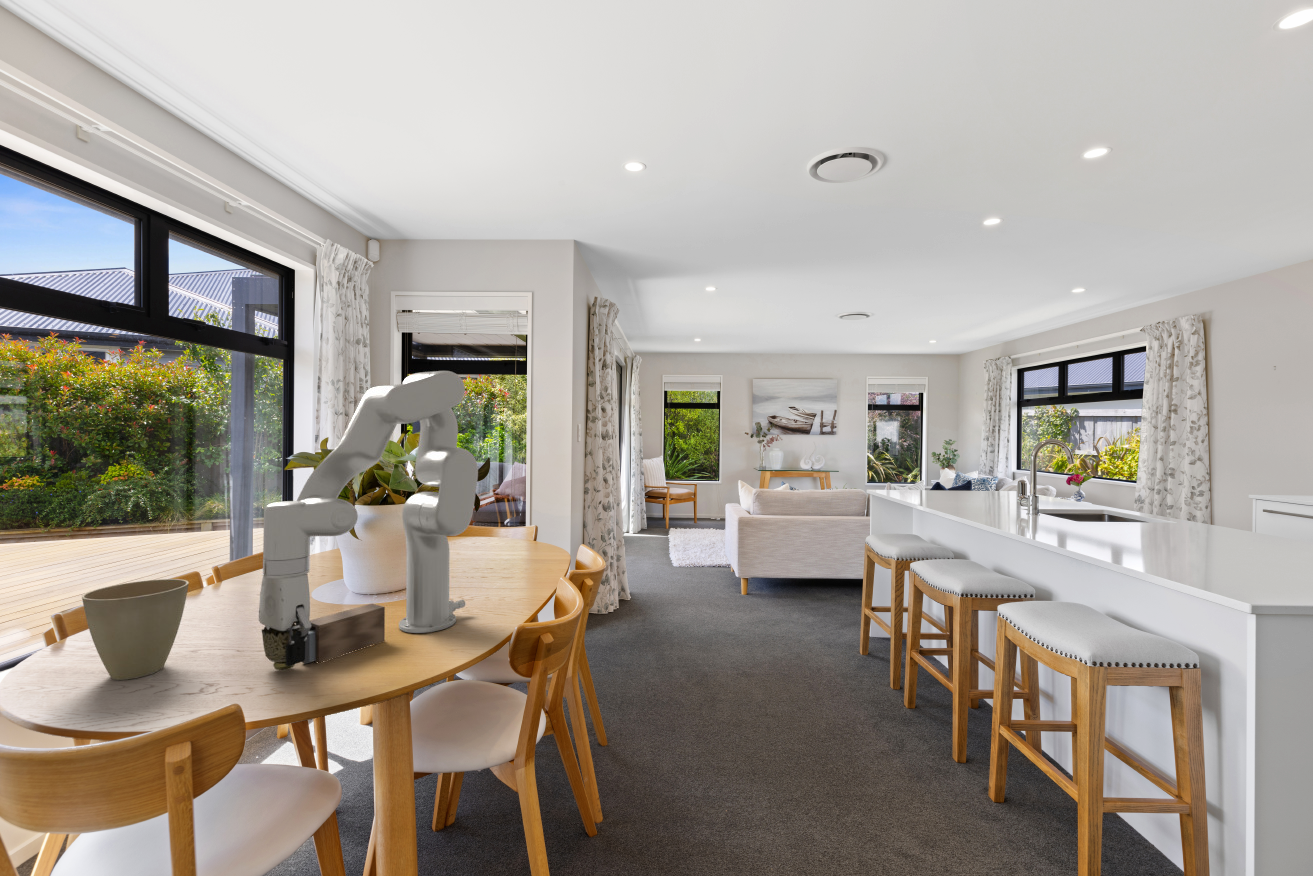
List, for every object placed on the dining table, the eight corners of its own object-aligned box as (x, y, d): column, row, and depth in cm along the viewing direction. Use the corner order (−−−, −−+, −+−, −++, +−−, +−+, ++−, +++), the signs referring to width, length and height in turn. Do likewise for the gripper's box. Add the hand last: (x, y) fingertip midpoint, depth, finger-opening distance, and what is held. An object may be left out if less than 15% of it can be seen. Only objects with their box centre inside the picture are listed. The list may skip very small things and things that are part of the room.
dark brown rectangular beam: (372, 637, 126) (372, 603, 126) (384, 641, 123) (384, 606, 123) (306, 658, 114) (306, 621, 114) (318, 663, 111) (318, 625, 111)
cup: (284, 677, 104) (285, 634, 104) (251, 673, 105) (251, 630, 105) (316, 661, 111) (317, 621, 111) (284, 658, 112) (285, 618, 112)
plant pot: (208, 660, 113) (208, 580, 113) (122, 693, 98) (122, 602, 98) (150, 653, 116) (150, 576, 116) (60, 684, 102) (59, 596, 101)
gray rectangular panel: (368, 640, 123) (368, 613, 123) (372, 641, 123) (372, 615, 122) (301, 662, 111) (301, 633, 111) (305, 663, 110) (305, 634, 110)
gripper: (242, 564, 109) (241, 656, 109) (289, 576, 100) (287, 676, 100) (284, 557, 116) (282, 644, 116) (331, 568, 107) (330, 662, 107)
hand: (285, 658), depth 108 cm, fingers closed on cup, 6 cm apart
